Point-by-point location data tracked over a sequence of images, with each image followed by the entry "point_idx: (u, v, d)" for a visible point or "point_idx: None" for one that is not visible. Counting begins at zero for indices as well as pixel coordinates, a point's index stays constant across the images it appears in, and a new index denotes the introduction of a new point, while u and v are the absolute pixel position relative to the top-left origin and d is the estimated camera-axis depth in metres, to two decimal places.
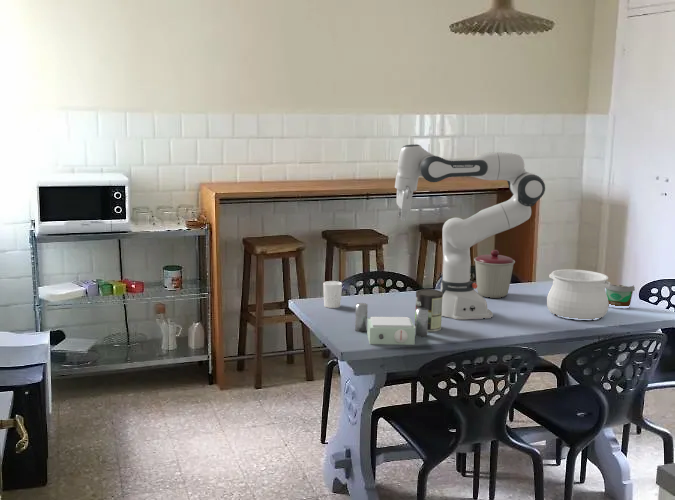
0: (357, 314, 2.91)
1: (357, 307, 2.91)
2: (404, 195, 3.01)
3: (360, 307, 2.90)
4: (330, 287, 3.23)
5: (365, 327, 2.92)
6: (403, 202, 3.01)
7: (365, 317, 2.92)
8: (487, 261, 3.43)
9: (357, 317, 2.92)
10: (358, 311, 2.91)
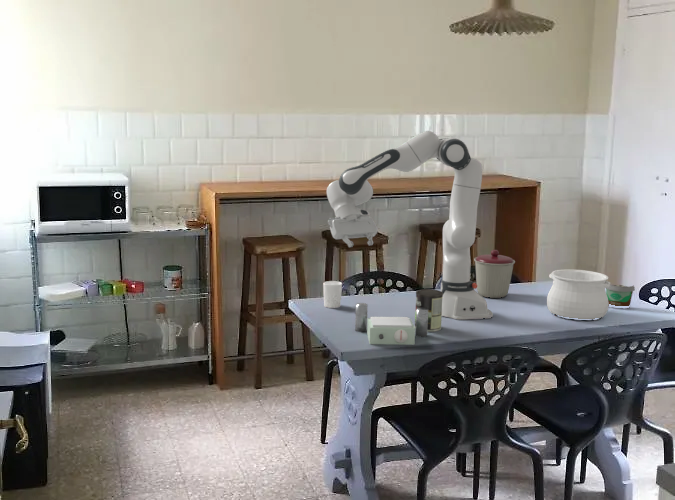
0: (357, 314, 2.91)
1: (357, 307, 2.91)
2: (330, 226, 3.03)
3: (360, 307, 2.90)
4: (330, 287, 3.23)
5: (365, 327, 2.92)
6: (331, 232, 3.02)
7: (365, 317, 2.92)
8: (487, 261, 3.43)
9: (357, 317, 2.92)
10: (358, 311, 2.91)
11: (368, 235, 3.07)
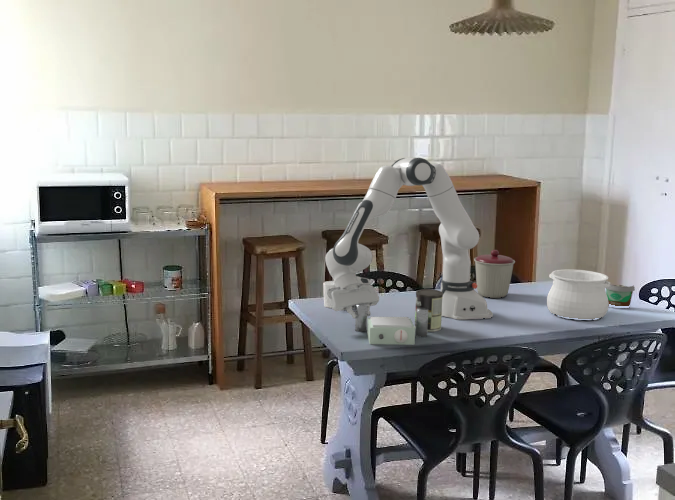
0: None
1: (357, 307, 2.91)
2: None
3: (360, 307, 2.90)
4: (330, 287, 3.23)
5: (365, 327, 2.92)
6: (331, 304, 2.92)
7: (365, 317, 2.92)
8: (487, 261, 3.43)
9: (357, 317, 2.92)
10: (358, 311, 2.91)
11: None
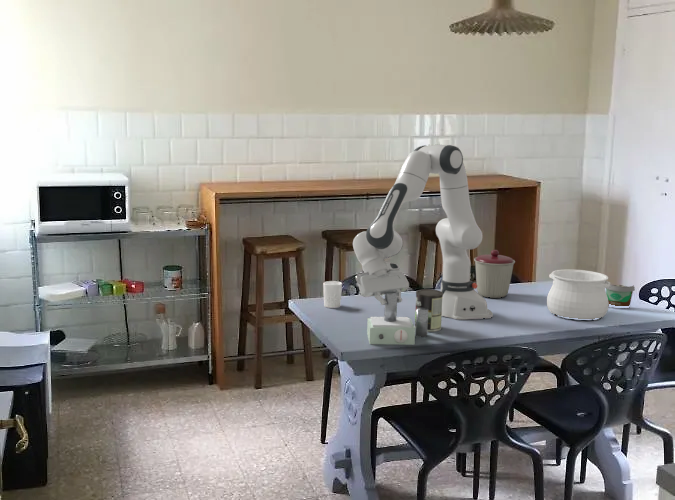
0: None
1: (387, 296, 2.80)
2: (358, 283, 2.82)
3: (390, 296, 2.80)
4: (330, 287, 3.23)
5: (395, 317, 2.82)
6: (360, 290, 2.81)
7: (395, 306, 2.81)
8: (487, 261, 3.43)
9: (386, 306, 2.81)
10: (387, 300, 2.80)
11: (396, 291, 2.85)
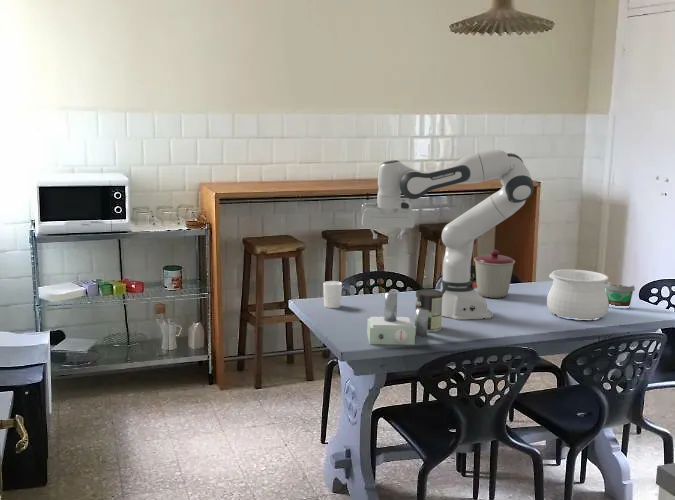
0: (386, 303, 2.81)
1: (386, 296, 2.80)
2: None
3: (390, 296, 2.80)
4: (330, 287, 3.23)
5: (395, 317, 2.82)
6: None
7: (395, 306, 2.81)
8: (487, 261, 3.43)
9: (386, 306, 2.81)
10: (387, 300, 2.80)
11: (401, 228, 2.98)
